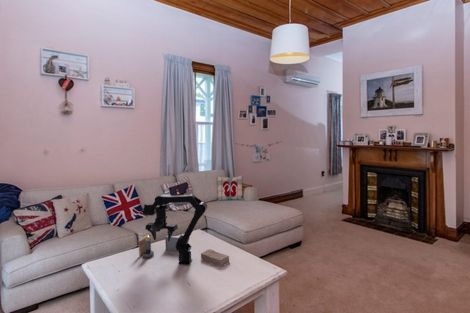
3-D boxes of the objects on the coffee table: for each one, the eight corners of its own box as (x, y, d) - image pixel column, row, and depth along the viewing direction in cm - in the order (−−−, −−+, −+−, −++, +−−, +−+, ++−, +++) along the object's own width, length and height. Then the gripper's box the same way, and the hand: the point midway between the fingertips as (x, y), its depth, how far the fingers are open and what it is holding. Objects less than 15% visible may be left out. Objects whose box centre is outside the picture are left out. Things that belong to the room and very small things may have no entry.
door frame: (183, 250, 188) (183, 236, 187) (182, 251, 186) (182, 238, 185) (149, 247, 193) (149, 234, 192) (148, 248, 191) (147, 235, 190)
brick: (230, 262, 170) (229, 254, 170) (221, 267, 163) (221, 259, 163) (209, 255, 180) (209, 248, 179) (200, 260, 173) (200, 253, 173)
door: (151, 248, 191) (150, 233, 190) (141, 256, 178) (140, 240, 178) (149, 247, 191) (148, 233, 190) (139, 255, 179) (138, 240, 178)
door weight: (155, 255, 180) (155, 235, 178) (147, 259, 174) (146, 238, 173) (149, 253, 183) (149, 233, 182) (141, 256, 178) (140, 236, 177)
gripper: (139, 218, 163) (140, 244, 164) (169, 220, 159) (170, 247, 160) (149, 213, 174) (150, 237, 175) (177, 214, 170) (178, 240, 171)
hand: (161, 240), depth 170 cm, fingers open, 9 cm apart
